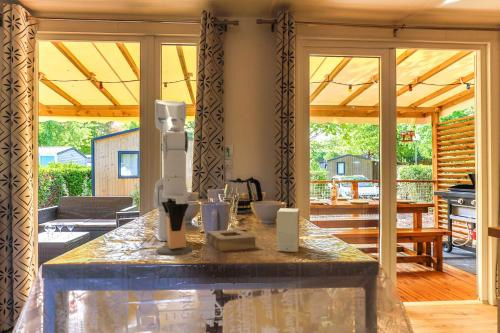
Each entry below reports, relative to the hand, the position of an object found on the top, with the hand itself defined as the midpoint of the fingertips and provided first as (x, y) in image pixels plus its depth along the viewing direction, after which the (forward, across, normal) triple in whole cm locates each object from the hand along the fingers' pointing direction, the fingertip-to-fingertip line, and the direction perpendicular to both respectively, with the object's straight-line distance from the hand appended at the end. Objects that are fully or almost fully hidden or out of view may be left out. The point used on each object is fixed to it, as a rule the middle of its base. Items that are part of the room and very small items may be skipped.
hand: (174, 229), depth 87 cm
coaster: (+6, 0, 0) cm, 6 cm away
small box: (+6, -9, -29) cm, 31 cm away
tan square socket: (+6, +1, -16) cm, 17 cm away
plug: (+4, 0, -1) cm, 4 cm away
